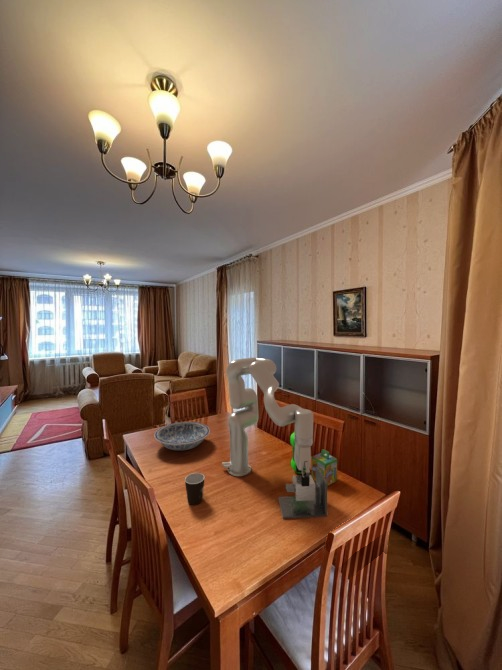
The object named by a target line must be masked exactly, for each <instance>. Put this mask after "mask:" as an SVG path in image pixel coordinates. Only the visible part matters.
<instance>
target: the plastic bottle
mask: <svg viewBox="0 0 502 670" xmlns="http://www.w3.org/2000/svg"><path fill="white" fill-rule="evenodd" d="M294 436H295V431H293V432H292V433H291V434H290V440H289V442H290V445H291V446H292V458H291V461H290V467H291V469H292V470H293V471H295V473H296V474H298V475H299V474H300V475H301V474H302V472H296V463H295V460H294V453H295V443H294ZM303 469H305V467H304V468H303ZM304 473H306V471H304Z"/></svg>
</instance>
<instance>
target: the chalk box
mask: <svg viewBox="0 0 502 670" xmlns="http://www.w3.org/2000/svg"><path fill="white" fill-rule="evenodd" d="M316 467H319V469H320V471H321V473H322V474H323V476H324V478H325V480H326V481H327V487H329V486H330V485H332V484H334V483H336V482H337V481H338V458H336V457H335V456H333V455H331V454H330V451H328V450H326V449H323V448H322V449H321V452H320V453H318V454H315V455H311V468H310V470H311V471H310V475H311V476H312V478H313V480H314V482H316Z"/></svg>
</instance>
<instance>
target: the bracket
mask: <svg viewBox="0 0 502 670" xmlns="http://www.w3.org/2000/svg"><path fill="white" fill-rule="evenodd" d="M285 490H286V493H293V492H296V489H295V486H294V484H293V483H285ZM277 500H278V503H279V507H280V513H281V516H282V519H283V520H286V519H287V520H288V519H307V518H309V519H310V518H326V517H328V486H327V481H326V480H325V478H324V476H323V474H322V473H321V471H320V469H319V467H316V481H315V500H310V501H296V495H294V496H278V498H277Z"/></svg>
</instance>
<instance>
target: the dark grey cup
mask: <svg viewBox="0 0 502 670" xmlns="http://www.w3.org/2000/svg"><path fill="white" fill-rule="evenodd" d="M184 484H185V491H186V498H187V503H188V504H189V505H190V506H196V505H199V504H201V503H202V502H203V498H204V489H205V488H204V487H205V475H204V474H203V473H201V472H193V473H189V474H188V475H186V476H185V478H184Z"/></svg>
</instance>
